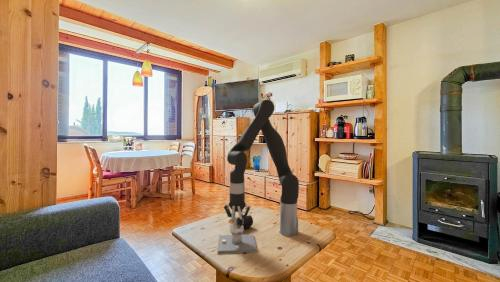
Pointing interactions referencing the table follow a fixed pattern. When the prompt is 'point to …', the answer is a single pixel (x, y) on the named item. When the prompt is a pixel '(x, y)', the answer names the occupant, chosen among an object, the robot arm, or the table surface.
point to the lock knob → (235, 226)
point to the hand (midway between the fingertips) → (237, 225)
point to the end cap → (247, 221)
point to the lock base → (242, 246)
